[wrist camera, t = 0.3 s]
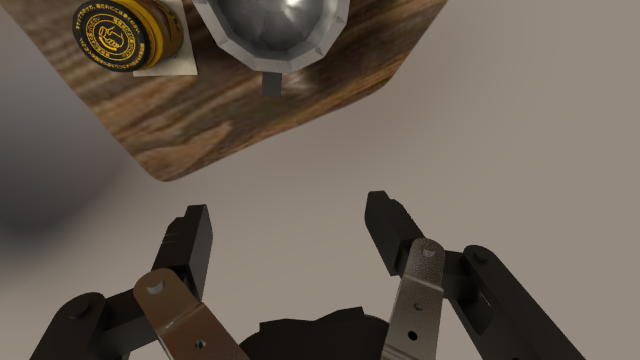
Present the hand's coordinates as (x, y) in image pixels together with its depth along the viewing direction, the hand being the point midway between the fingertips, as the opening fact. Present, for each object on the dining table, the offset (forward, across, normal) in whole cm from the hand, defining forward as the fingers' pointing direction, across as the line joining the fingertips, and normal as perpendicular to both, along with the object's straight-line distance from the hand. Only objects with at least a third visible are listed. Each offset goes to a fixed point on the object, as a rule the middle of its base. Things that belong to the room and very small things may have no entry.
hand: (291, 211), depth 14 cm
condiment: (+28, +13, -5) cm, 31 cm away
